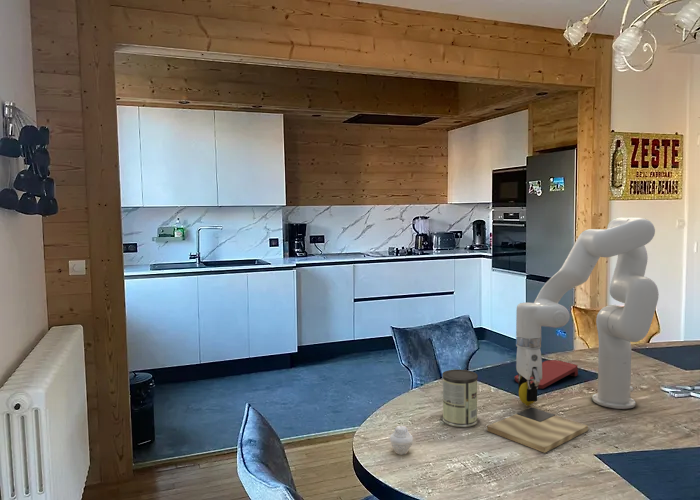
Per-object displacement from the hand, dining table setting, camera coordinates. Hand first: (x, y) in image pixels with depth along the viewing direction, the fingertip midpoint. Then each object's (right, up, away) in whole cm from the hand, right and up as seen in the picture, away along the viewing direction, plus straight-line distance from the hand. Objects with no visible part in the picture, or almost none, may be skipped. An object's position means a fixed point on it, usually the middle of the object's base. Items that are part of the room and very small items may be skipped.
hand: (527, 396), depth 171 cm
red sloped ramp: (+17, -1, +27) cm, 32 cm away
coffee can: (-24, -4, -11) cm, 27 cm away
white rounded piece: (-43, -6, -32) cm, 54 cm away
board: (-4, -4, -19) cm, 20 cm away
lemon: (0, -3, 0) cm, 3 cm away
